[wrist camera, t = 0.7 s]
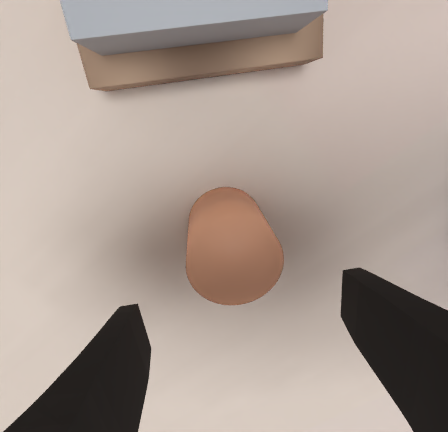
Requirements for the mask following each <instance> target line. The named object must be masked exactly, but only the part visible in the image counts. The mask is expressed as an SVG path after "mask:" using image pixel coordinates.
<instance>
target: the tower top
mask: <svg viewBox="0 0 448 432" xmlns="http://www.w3.org/2000/svg"><path fill="white" fill-rule="evenodd" d="M60 3H61V6H62V10H63V13H64V17H65V20H66V24H67V28H68V31H69V35H70V38H71V40H72V41H74V42H76V43H78V44H80V45H82V46H84V47H86V48H88V49H90V50H92V51H94V52H96V53H97V54H99V55H101V56H104V55H113V54H121V53H129V52H138V51H146V50H155V49H163V48H172V47H180V46H188V45H197V44H205V43H214V42H222V41H231V40H239V39H247V38H256V37H264V36H273V35H281V34H290V33H296V32H298V31H299V30H301V29H302V28H303V27H305V26H306V25H308V24H309V23H310V22H312V21H313V20H315V19H316V18H318V17H319V16H320V15H322V14H323V13H325V12H326V11H327V10H328V0H60Z"/></svg>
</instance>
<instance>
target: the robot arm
mask: <svg viewBox="0 0 448 432" xmlns="http://www.w3.org/2000/svg"><path fill="white" fill-rule="evenodd" d="M341 318H342V320H343V322H344V324H345V326H346V328H347V330H348V332H349V333H350V335H351V337H352V339H353V341H354V343H355V344H356V346H357V347H358V349H359V350H360V352H361V353H362V355H363V356H364V358H365V359H366V361H367V362H368V364H369V365H370V367H371V368H372V370H373V371H374V373H375V374H376V375H377V377H378V378H379V380H380V381H381V383H382V384H383V386H384V387H385V389H386V390H387V391H388V393H389V394H390V396H391V397H392V399H393V400H394V402H395V403H396V405H397V406H398V408H399V409H400V411H401V412H402V414H403V415H404V417H405V418H406V420H407V422H408V423H409V425H410V426H411V428H412V430H413V432H448V310H445V309H443V308H441V307H439V306H437V305H435V304H433V303H430V302H428V301H426V300H424V299H422V298H420V297H418V296H416V295H414V294H412V293H410V292H408V291H406V290H404V289H402V288H400V287H398V286H396V285H394V284H392V283H390V282H388V281H386V280H384V279H382V278H380V277H379V276H377V275H375V274H372V273H370V272H368V271H366V270H364V269H362V268H354V269H348V270H343V277H342V299H341ZM150 358H151V346H150V343H149V339H148V336H147V333H146V329H145V326H144V323H143V319H142V316H141V313H140V310H139V306H138V304H133V305H127V306H121V307H119V308H118V309H117V311H116V312H115V313H114V314H113V315H112V316H111V318H110V319H109V320H108V321H107V322H106V324H105V325H104V326H103V327H102V328H101V330H100V331H99V332H98V333H97V334H96V336H95V337H94V338H93V339H92V340H91V341H90V343H89V344H88V345H87V346H86V347H85V348H84V350H83V351H82V352H81V353H80V354H79V355H78V357H77V358H76V359H75V360H74V361H73V362H72V363H71V364H70V365H69V366H68V367H67V369H66V370H65V371H64V372H63V373H62V374H61V375H60V376H59V377H58V378H57V379H56V380H55V382H54V383H53V384H52V385H51V386H50V387H49V388H48V389H47V390H46V391H45V392H44V393H43V394H42V395H41V396H40V397H39V398H38V399H37V400H36V401H35V402H34V403H33V404H32V405H31V406H30V407H29V408H28V409H27V410H26V411H25V412H24V413H23V414H22V415H21V416H20V417H18V418H17V419H16V420H15V421H14V422H13V423H12V424H11V425H10V426H9V427H8V428H7V429H6V430H5V431H4V432H138V429H139V424H140V419H141V414H142V409H143V404H144V399H145V395H146V390H147V384H148V379H149V369H150Z"/></svg>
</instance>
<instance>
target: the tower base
mask: <svg viewBox="0 0 448 432" xmlns="http://www.w3.org/2000/svg"><path fill="white" fill-rule="evenodd" d="M77 46H78V49H79V53H80V56H81V60H82V63H83V67H84V70H85V74H86V77H87V81H88V84H89V88H90V89H94V90H102V91H111V90H119V89H126V88H134V87H141V86H148V85H156V84H163V83H171V82H178V81H186V80H193V79H200V78H208V77H215V76H223V75H230V74H237V73H245V72H252V71H260V70H267V69H275V68H282V67H289V66H297V65H304V64H306V63H309V62H312V61H315V60H317V59H320V58H323V14H322V15H320V16H319V17H318V18H316V19H315V20H313V21H312V22H310V23H309V24H308V25H306V26H305V27H303V28H302V29H301V30H299V31H298V32H296V33H290V34H281V35H273V36H264V37H256V38H247V39H239V40H231V41H222V42H214V43H205V44H197V45H188V46H180V47H172V48H163V49H155V50H146V51H138V52H129V53H121V54H113V55H104V56H101V55H99V54H97V53H96V52H94V51H92V50H90V49H88V48H86V47H84V46H82V45H80V44H78V43H77Z"/></svg>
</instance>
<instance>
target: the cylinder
mask: <svg viewBox="0 0 448 432" xmlns="http://www.w3.org/2000/svg"><path fill="white" fill-rule="evenodd" d="M283 263H284V256H283V251H282V247H281V245H280V243H279V241H278V239H277V237H276V236H275V234H274V232H273V231H272V229H271V227H270V226H269V224H268V222H267V221H266V219H265V217H264V216H263V214H262V212H261V211H260V209H259V207H258V206H257V204H256V203H255V201H254V200H253V199H252V197H250V196H249V195H248V194H247V193H245V192H244V191H241V190H239V189H236V188H231V187H221V188H216V189H213V190H210V191H208V192H206V193H205V194H203V195H202V196H201V197H200V198H199V199H198V200H197V201H196V202H195V204H194V205H193V207H192V209H191V212H190V216H189V226H188V240H187V255H186V272H187V276H188V279H189V281H190V283H191V285H192V286H193V288H194V289H195V290H196V291H197V292H198V293H199V294H200V295H201V296H203V297H204V298H206V299H207V300H210V301H212V302H215V303H218V304H222V305H240V304H245V303H249V302H252V301H254V300H256V299H258V298H260V297H262V296H263V295H264V294H266V293H267V292H268V291H269V290H270V289H271V288H272V287H273V286H274V285H275V284H276V282H277V281H278V279H279V277H280V275H281V272H282V269H283Z"/></svg>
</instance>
